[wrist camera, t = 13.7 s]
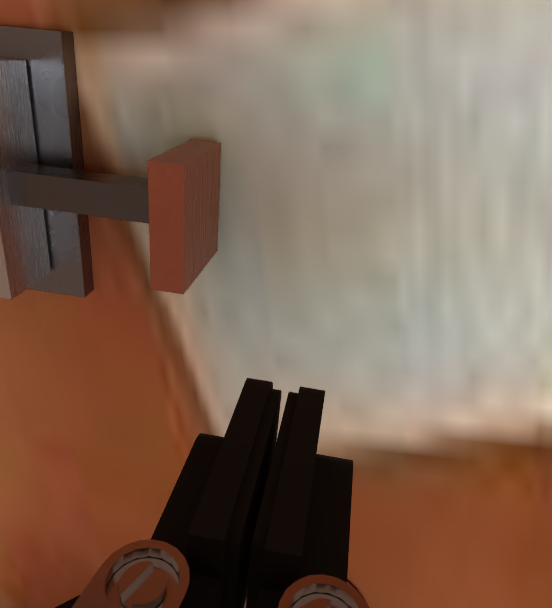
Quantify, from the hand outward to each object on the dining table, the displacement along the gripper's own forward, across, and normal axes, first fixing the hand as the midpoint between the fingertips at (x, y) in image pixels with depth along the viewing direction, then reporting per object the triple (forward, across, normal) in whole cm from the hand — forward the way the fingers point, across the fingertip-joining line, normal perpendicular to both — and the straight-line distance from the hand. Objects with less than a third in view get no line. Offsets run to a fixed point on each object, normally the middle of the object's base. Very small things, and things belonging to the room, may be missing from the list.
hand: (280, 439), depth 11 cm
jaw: (+19, +13, +1) cm, 23 cm away
